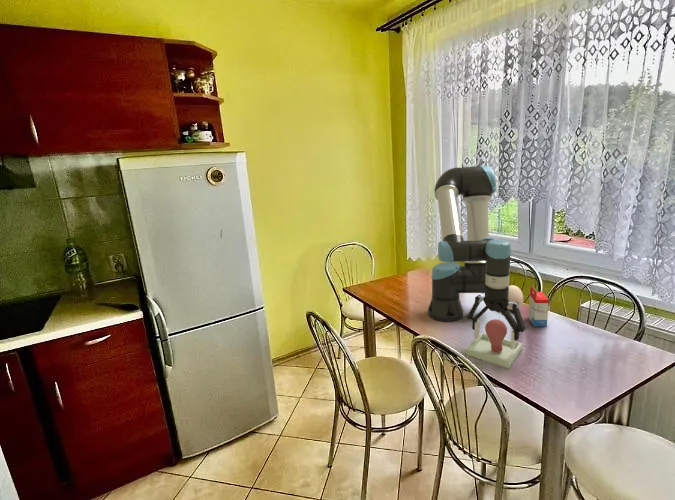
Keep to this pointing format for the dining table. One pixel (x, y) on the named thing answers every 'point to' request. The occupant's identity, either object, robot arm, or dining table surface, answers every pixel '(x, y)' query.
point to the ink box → (538, 308)
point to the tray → (484, 352)
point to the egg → (515, 296)
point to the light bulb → (496, 334)
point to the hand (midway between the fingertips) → (494, 342)
